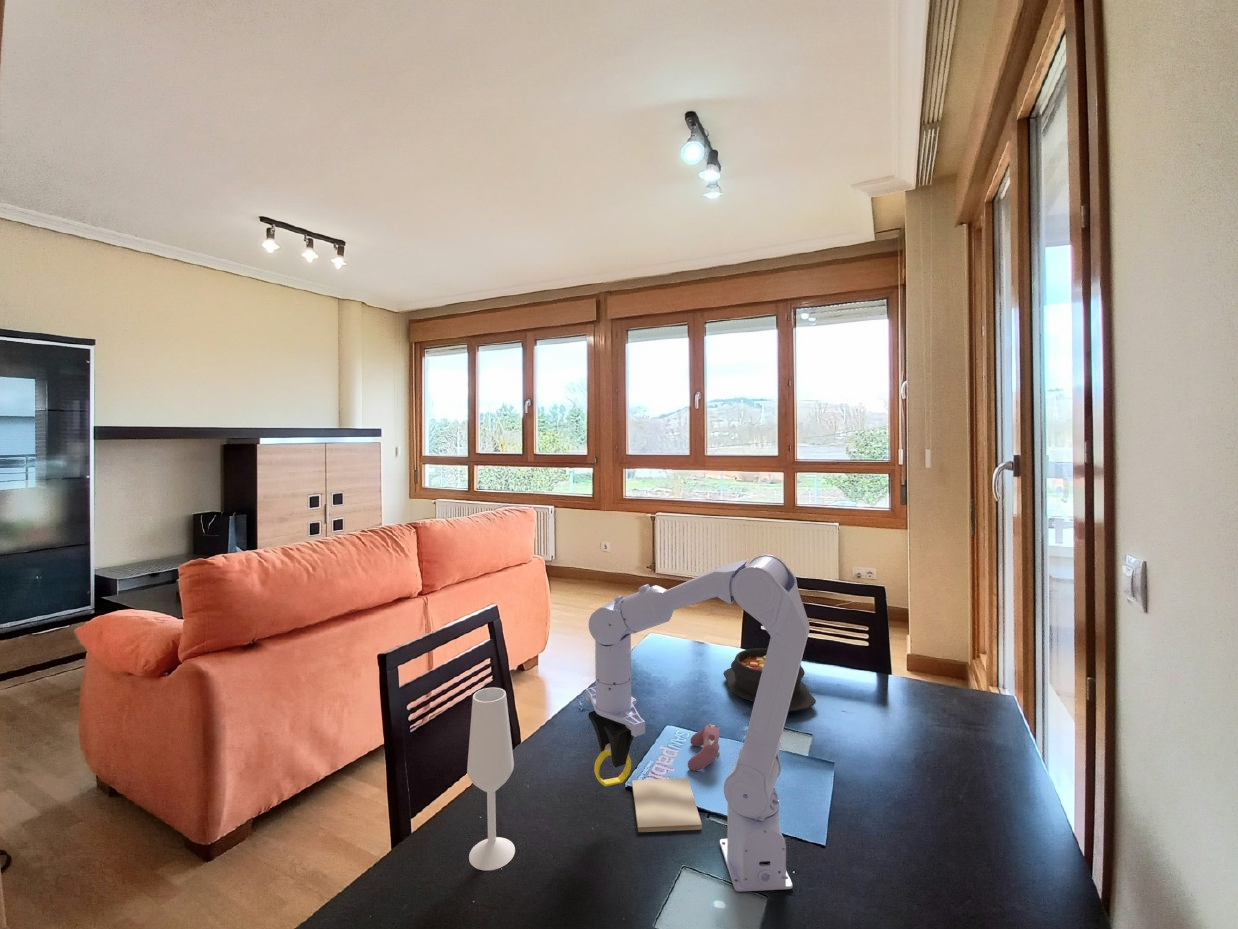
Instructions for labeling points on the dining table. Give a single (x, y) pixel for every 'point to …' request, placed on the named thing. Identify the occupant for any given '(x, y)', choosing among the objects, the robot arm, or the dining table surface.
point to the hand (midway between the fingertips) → (613, 759)
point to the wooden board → (665, 805)
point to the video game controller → (705, 747)
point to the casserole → (748, 675)
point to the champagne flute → (490, 770)
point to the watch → (612, 780)
